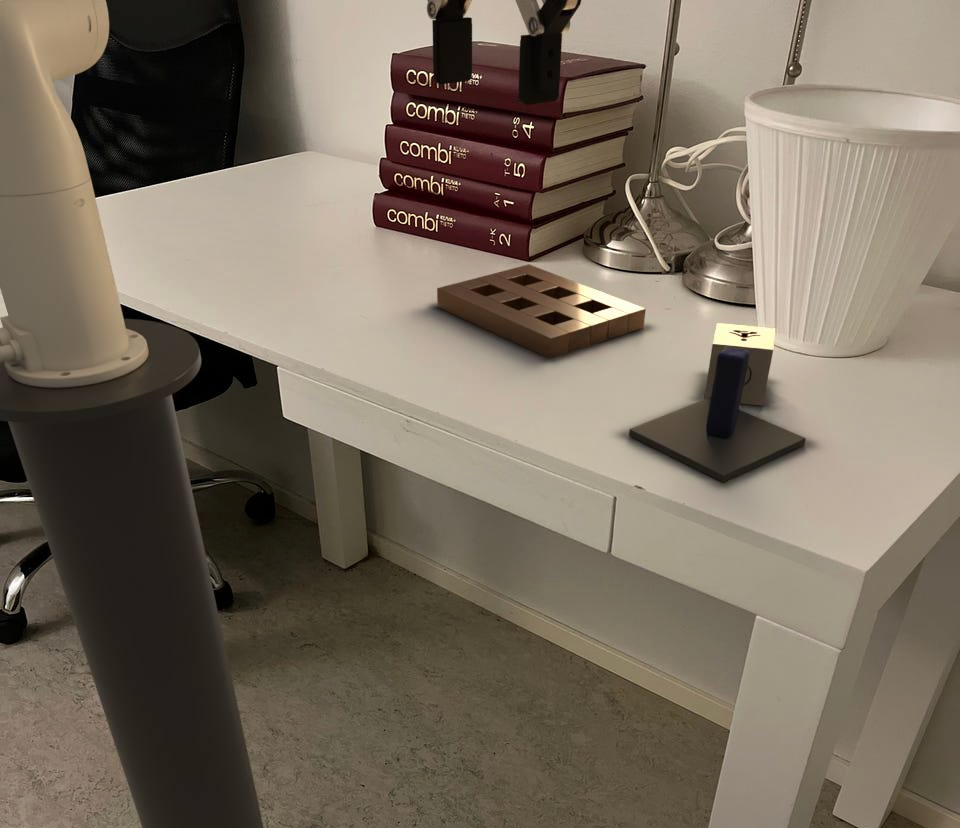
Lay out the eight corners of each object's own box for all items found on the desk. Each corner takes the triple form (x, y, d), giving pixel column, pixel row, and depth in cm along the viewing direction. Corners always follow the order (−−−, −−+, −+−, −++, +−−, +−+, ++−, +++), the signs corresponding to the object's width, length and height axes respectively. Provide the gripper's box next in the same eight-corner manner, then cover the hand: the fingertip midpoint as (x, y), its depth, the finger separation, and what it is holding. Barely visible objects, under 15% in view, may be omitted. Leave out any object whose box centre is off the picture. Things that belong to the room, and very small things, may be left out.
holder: (549, 359, 92) (550, 338, 90) (437, 306, 103) (436, 287, 101) (644, 328, 98) (646, 308, 97) (528, 282, 109) (529, 264, 108)
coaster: (722, 482, 73) (724, 475, 73) (628, 435, 79) (629, 428, 79) (804, 444, 78) (806, 437, 77) (709, 403, 84) (710, 396, 84)
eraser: (711, 424, 79) (724, 343, 75) (737, 430, 78) (752, 349, 74) (702, 434, 78) (715, 352, 74) (729, 440, 77) (743, 358, 73)
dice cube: (765, 382, 87) (775, 328, 84) (762, 405, 83) (773, 349, 80) (709, 376, 88) (717, 322, 85) (704, 399, 84) (712, 343, 81)
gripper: (368, -226, 62) (382, 80, 72) (547, -243, 51) (533, 117, 62) (461, -219, 65) (462, 71, 76) (646, -234, 55) (616, 105, 66)
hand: (493, 91), depth 69 cm, fingers open, 9 cm apart
